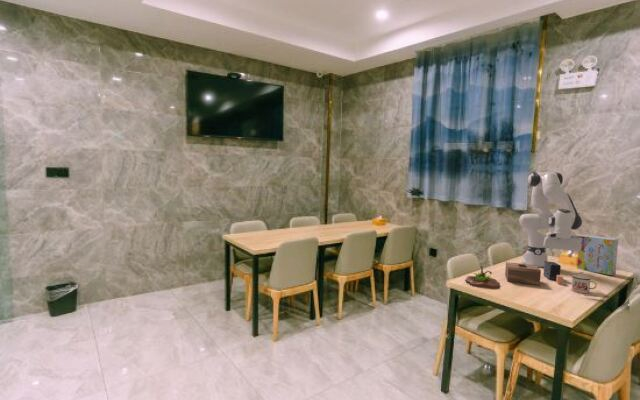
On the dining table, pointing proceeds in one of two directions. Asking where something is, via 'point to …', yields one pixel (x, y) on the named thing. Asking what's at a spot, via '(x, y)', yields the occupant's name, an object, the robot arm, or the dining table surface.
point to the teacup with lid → (581, 283)
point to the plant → (482, 280)
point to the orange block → (559, 280)
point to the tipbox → (523, 273)
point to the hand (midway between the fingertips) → (561, 256)
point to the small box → (551, 270)
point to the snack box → (598, 254)
